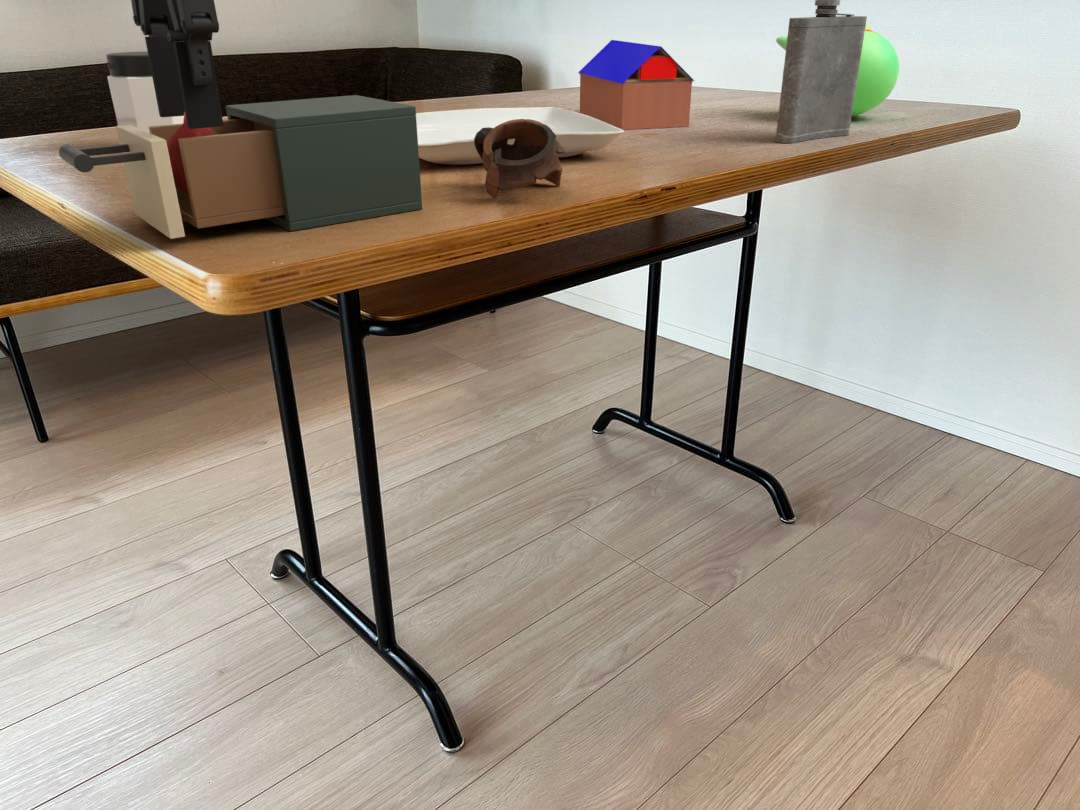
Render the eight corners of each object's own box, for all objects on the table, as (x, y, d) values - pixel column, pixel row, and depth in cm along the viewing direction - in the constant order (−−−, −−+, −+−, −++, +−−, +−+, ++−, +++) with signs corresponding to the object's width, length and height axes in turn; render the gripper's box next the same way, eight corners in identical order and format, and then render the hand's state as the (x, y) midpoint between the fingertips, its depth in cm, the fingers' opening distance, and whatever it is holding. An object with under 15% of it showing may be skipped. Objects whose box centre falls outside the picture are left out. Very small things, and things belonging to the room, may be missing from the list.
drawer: (101, 250, 66) (76, 148, 62) (72, 223, 73) (48, 131, 70) (312, 216, 75) (301, 126, 72) (267, 195, 83) (255, 113, 80)
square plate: (554, 129, 128) (554, 103, 126) (626, 160, 104) (628, 127, 103) (377, 139, 120) (375, 111, 118) (413, 174, 97) (411, 139, 95)
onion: (250, 198, 77) (236, 107, 74) (227, 213, 72) (211, 116, 68) (188, 198, 77) (171, 107, 74) (161, 213, 72) (141, 116, 69)
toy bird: (797, 125, 131) (810, 22, 124) (763, 111, 146) (773, 19, 139) (907, 123, 132) (926, 21, 126) (862, 109, 147) (877, 18, 141)
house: (641, 110, 147) (644, 39, 142) (691, 126, 130) (697, 45, 125) (577, 113, 144) (578, 40, 139) (620, 130, 127) (623, 47, 122)
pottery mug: (587, 192, 90) (582, 129, 83) (530, 244, 87) (520, 184, 80) (504, 151, 95) (493, 89, 88) (448, 200, 92) (432, 139, 85)
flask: (766, 140, 118) (782, -1, 110) (832, 131, 125) (851, -2, 117) (786, 143, 115) (804, -1, 107) (853, 134, 122) (874, -2, 114)
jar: (145, 141, 119) (126, 51, 114) (200, 141, 119) (184, 51, 114) (113, 152, 111) (91, 55, 106) (172, 152, 111) (153, 55, 106)
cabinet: (290, 231, 74) (274, 118, 70) (242, 207, 83) (225, 105, 78) (422, 209, 81) (415, 106, 77) (365, 188, 90) (356, 95, 86)
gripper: (233, -220, 56) (278, 132, 66) (149, -180, 70) (197, 105, 81) (114, -237, 52) (181, 141, 62) (51, -191, 66) (114, 111, 77)
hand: (190, 120), depth 72 cm, fingers open, 7 cm apart
